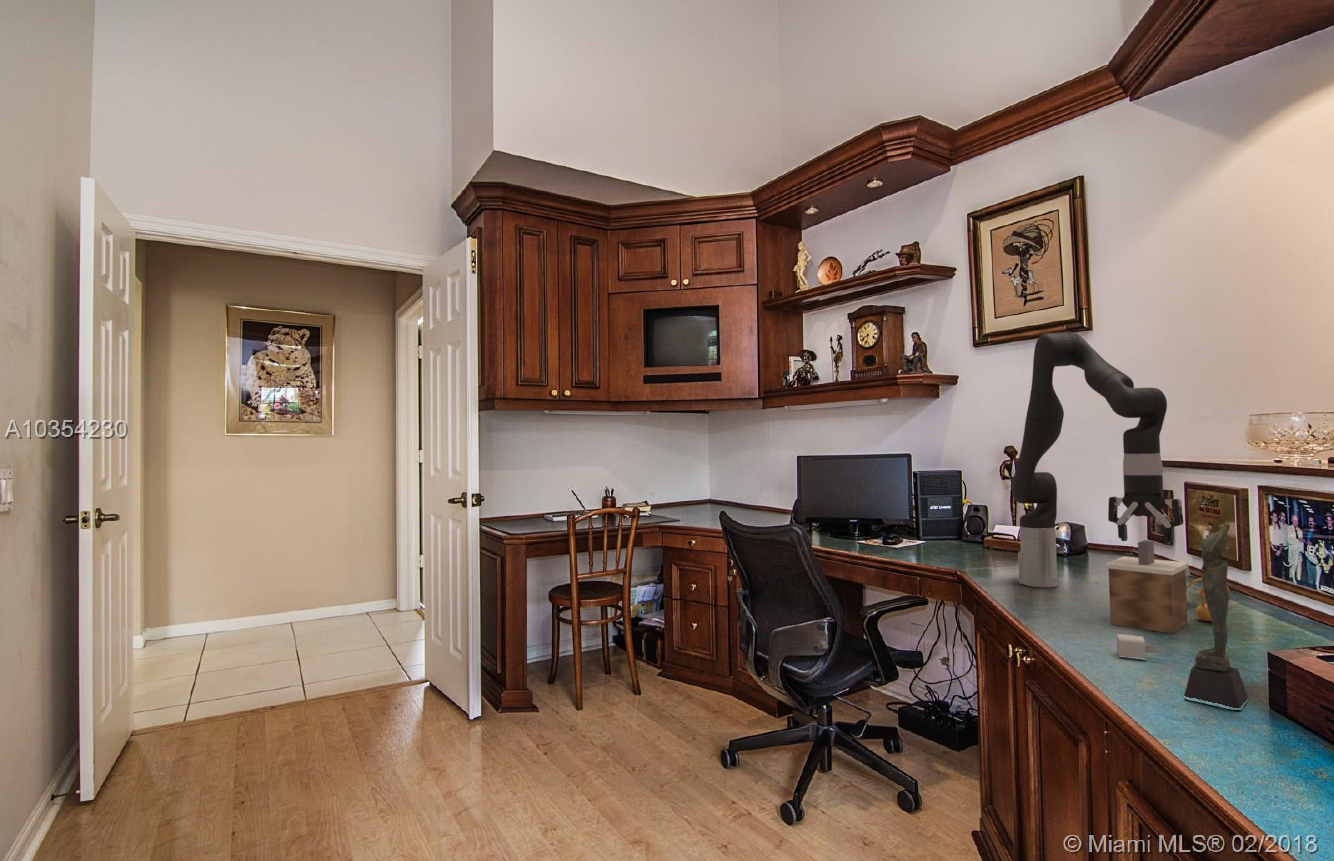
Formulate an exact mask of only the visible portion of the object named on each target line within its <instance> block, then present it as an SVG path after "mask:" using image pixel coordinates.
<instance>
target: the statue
mask: <svg viewBox="0 0 1334 861" xmlns="http://www.w3.org/2000/svg"><path fill="white" fill-rule="evenodd" d="M1230 527H1231V525H1230V524H1229V523H1228V521H1225V522H1224V523H1223V525H1222V527H1221V528H1220V529H1219V530H1217V531H1215V532H1213V533H1212V534H1209V535H1208V536H1206V537H1205V538H1202V539H1201V540H1200V543H1199V544H1200V548H1201V556H1200V557H1201V559H1202V566H1201V569H1200V570H1202V571H1203V572H1204V573H1203V574H1202V576H1201V577H1202V579H1203V581H1202V584H1203V585H1202V587H1203V589H1204V594H1203V595H1204V597H1205V604H1207V606H1208V609H1209V612H1210V615H1211V619H1212V621H1211V624H1212V632H1213V634H1212V635H1213V642H1214V647H1211V648H1205V649H1201V650H1198V651H1197V654H1196V656H1195V658H1194V660H1195V662H1194V663H1195V664H1194V665H1193V666H1192V667H1191V668H1190V672H1189V675H1188V680H1187V683H1186V688H1185V689H1184V690H1185V691H1184V695H1183V697H1184V696H1186V697H1189V698H1196V699H1199V700H1200V699H1201V700H1204V701H1208V702H1212V703H1218V704H1222V705H1225V706H1229V707H1233V708H1241V706H1242V705H1243V703H1245V701H1246V700H1247V698H1248V699H1249V695H1248V693H1247V690H1246V687H1245V684H1244V682H1243V679H1242V675H1241V674H1240V671H1239V669H1238V667H1237V668H1236V667H1232V666H1231V663H1230V659H1229V657H1228V655H1227V653H1226V649H1227V643H1228V637H1229V636H1228V627H1227V626H1228V625H1227V617H1228V611H1229V602H1230V598H1231V597H1230V593H1229V592H1228V589H1227V586H1228V584H1227V579H1228V568H1229V564H1228V560H1222V556H1223V554H1224V551H1225V549H1226V548H1225V547H1226V544H1227V542H1226V541H1227V539H1226V538H1227V534H1228V532H1229V531H1230V530H1229V529H1230ZM1203 582H1204V583H1203Z"/></svg>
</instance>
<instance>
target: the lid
mask: <svg viewBox="0 0 1334 861" xmlns="http://www.w3.org/2000/svg"><path fill="white" fill-rule="evenodd" d="M1154 544H1155V542H1154V540H1145V539H1144V540H1141V541H1138V542H1137V553H1138V554H1137V557H1133V556H1121V557H1118V558H1116V559H1113V560H1112V561H1108V562H1105V564H1104V565H1105V569H1109V568H1110V569H1119V570H1128V571H1137V572H1146V573H1155V574H1164V575H1174V574H1176V573H1178V572H1180V571H1182V570H1184V569H1186V568H1189V567H1190V566H1189V562H1187V561H1175V560H1174V561H1173V560H1166V559H1165V560H1164V559H1155V546H1154Z"/></svg>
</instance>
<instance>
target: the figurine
mask: <svg viewBox="0 0 1334 861" xmlns="http://www.w3.org/2000/svg"><path fill="white" fill-rule="evenodd" d="M1202 577H1203V576H1201V577H1199V578H1196V579H1195V578H1194V580H1192V581H1191V582H1189V584H1187V588H1186V591H1188V589H1189V588H1190V587H1191V586H1192V585H1194V583H1198V582H1202V584H1204V582H1203V579H1202ZM1227 589H1228V592H1229V594H1230V593H1231V592H1230V589H1229V586H1228V585H1227ZM1199 594H1200V598H1201V600H1202V602H1201V604H1199V605H1197V607H1196V608H1195V614H1196V617H1197V618H1198V619H1199V620H1202V621H1203V622H1212V619H1211V615H1210V612H1209V609H1208V606H1207V603H1206V601H1205V594H1204V589H1203V586H1200V591H1199Z"/></svg>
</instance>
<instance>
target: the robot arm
mask: <svg viewBox="0 0 1334 861" xmlns="http://www.w3.org/2000/svg"><path fill="white" fill-rule="evenodd" d="M1067 366H1068V367H1069V366H1074V367H1077V368H1079V369H1081V370H1082V371H1083V372H1084V373H1083V374H1084V380H1085V382H1086V384H1087V385H1088V387H1090V388H1091V390H1094V391H1095V392H1096V393H1097V394H1099V395H1100V396H1102V397H1103V398H1105V401H1106V402H1107V403H1108V405H1109V407H1110V408H1111V409H1112V411H1113V412H1114V413H1115V414H1116V415H1119V416H1120V417H1123V418H1125V419H1127V418H1128V419H1136V418H1137V419H1139V420H1138V422H1137V425H1136V427H1133V428H1129V429H1126V430H1124V431H1123V434H1122V436H1123V437H1122V441H1123V442H1122V443H1123V444H1122V445H1123V460H1122V470H1123V471H1122V472H1123V474H1122V475H1123V497H1118V496H1116V495H1114V496H1110V497H1109V498H1108V507H1107V508H1108V511H1107V512H1108V513H1107V514H1108V517H1107V520H1108V522H1110V523H1114V524H1116V525H1117V537H1118V538H1119V539H1120V540H1121V541H1122V542H1127V541H1128V524H1126V523H1127V522H1128V521H1129V520H1131V518H1132V517H1133V516H1135V517H1147V518H1152V517H1153V518H1154V517H1155V518H1156V520H1158V521H1159V522H1160V523H1161V524H1162V525H1163V526H1164V528H1163V538H1164V540H1163V543H1164V545H1171V544H1172V543H1173V542H1174V540H1175V536H1174V535H1175V534H1174V528H1175V527H1179V526H1182V525H1184V516H1183V506H1182V500H1181V499H1180V498H1174V499H1172V498H1171V499H1167V498H1165V495H1164V479H1163V478H1164V477H1163V475H1164V474H1163V473H1164V468H1163V462H1162V457H1161V443H1160V442H1161V440H1160V436H1161V432H1162V429H1163V424H1164V420H1165V417H1166V413H1167V409H1168V401H1167V397H1166V395H1165V394H1164V392H1163V391H1162V390H1161V389H1159V388H1158V387H1135V384H1134V381H1133V380H1132V378H1131V377H1130V376H1128V374H1125V373H1124V372H1122V371H1121V370H1119V369H1118V368H1116V367H1114V366H1113V365H1112V364H1110V363H1109V362H1108V361H1106V360H1105V359H1104V358H1103V357H1102V356H1101V355H1100V354H1099V353H1098V351H1096V350H1095V349H1094V347H1092V346H1091V345H1090V344H1089V343H1088V342H1087V341H1086V340H1085V339H1084V338H1083V337H1082V336H1081V335H1079V334H1078V333H1075V332H1069V331H1067V332H1052V333H1051V332H1049V333H1043V334H1041V335H1040V336H1039V337H1038V338H1037V341H1036V343H1035V346H1034V351H1033V360H1032V378H1031V379H1032V380H1031V389H1030V393H1029V394H1030V395H1029V401H1028V406H1027V411H1026V417H1025V423H1024V430H1023V436H1022V442H1021V448H1020V453H1019V456H1018V460H1017V464H1016V467H1015V470H1014V474H1013V479H1012V483H1011V491H1012V497H1013V499H1014V500H1015V502H1017V503H1019V504H1022V505H1023V504H1025V505H1027V504H1030V505H1031V504H1036V506H1035V508H1034V509H1032V510H1031V511H1030V512H1028V513H1025V514H1023V515H1021V516H1020V517H1019V534H1020V536H1019V537H1020V551H1018V552H1017V558H1018V559H1017V562H1018V563H1017V564H1018V583H1019V584H1020V585H1024V586H1027V587H1032V588H1055V587H1058V565H1057V540H1056V539H1057V538H1056V521H1057V512H1058V511H1057V509H1058V508H1057V507H1058V506H1057V503H1058V501H1057V500H1058V487H1057V486H1058V485H1057V481H1056V478H1055V476H1054V475H1053V474H1052V473H1050V472H1047V471H1044V472H1043V471H1037V472H1036V468H1037V466H1038V463H1039V462H1040V460H1041V459H1042V457H1043V456H1044V455H1045V454H1046V453H1047V452H1048V451H1049V450H1050V448H1051V447H1052V446H1053V445H1054V444H1055V442H1056V441H1058V439H1059V437H1060V435H1061V432H1062V428H1063V421H1064V416H1065V412H1064V408H1063V406H1062V403H1061V400H1060V399H1059V397H1058V395H1057V393H1056V390H1055V389H1054V385H1053V382H1054V381H1053V379H1054V378H1053V377H1054V371H1055V367H1056V368H1057V367H1067ZM1121 504H1123V505H1124V506H1125V507H1126V510H1125V511H1124V512H1123V513H1122V515H1121V516H1120V517H1118V507H1119V506H1121ZM1166 505H1167V506H1168V508H1170V509H1172V510H1171V511H1172V515H1173V516H1172V517H1173V520H1171V519H1170V518H1169V516H1168V515H1167V513H1165V511H1164V510H1163V508H1164V507H1165V506H1166Z"/></svg>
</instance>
